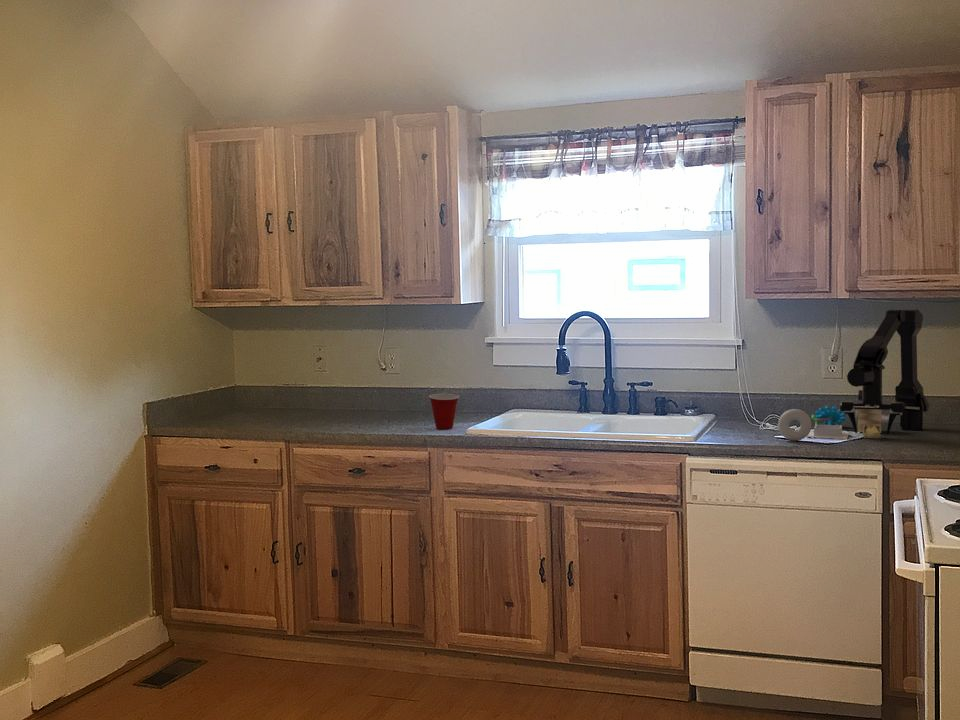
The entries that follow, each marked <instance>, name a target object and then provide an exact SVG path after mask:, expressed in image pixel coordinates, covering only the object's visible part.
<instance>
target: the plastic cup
mask: <svg viewBox="0 0 960 720" xmlns="http://www.w3.org/2000/svg"><path fill="white" fill-rule="evenodd" d="M428 398H429V400H430V403H431V408H432V414H433V419H434V425H435V428H436V430H441V431H442V430H452V429H453V428H454V423H455V422H454V421H455V418H456V417H455V416H456V410H457V404H458V401H459V398H460V395H458V394H455V393H432V394H429V395H428Z"/></svg>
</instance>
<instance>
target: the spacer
mask: <svg viewBox="0 0 960 720" xmlns="http://www.w3.org/2000/svg"><path fill="white" fill-rule="evenodd" d="M880 428H881V429H882V425H881V426H880V425H874V424H866V425H863V433H862V434H863V435H862V436H863V437H865V438H864V439H866V438H880V439H881V434H880ZM863 437H862V438H863Z"/></svg>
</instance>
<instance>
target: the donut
mask: <svg viewBox="0 0 960 720" xmlns="http://www.w3.org/2000/svg"><path fill="white" fill-rule="evenodd" d="M794 420H795V421H797V422H798V423H800V426H799V428H798V429H792V428H791V426H790V423H791V422H792V421H794ZM812 425H813V424H812V418H810V416H809V414H808V413H807V412H805V411H803V410H801V409H797V408H792V409H788V410H785V411H784V412H783V413H782V414H781V415H780V417H779V418H778V423H777V427H778V431H779V433H780V435H782V437H784V438H785V439H787V440H789V441H792V442H796V441H802V440H803V439H805V438H807V435H808V434H809V433H810V431H812V427H813V426H812Z"/></svg>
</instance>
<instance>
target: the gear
mask: <svg viewBox="0 0 960 720" xmlns="http://www.w3.org/2000/svg"><path fill="white" fill-rule="evenodd" d="M824 408H825V409H824ZM824 408H823V407H820V408H818V410H815V414H811V420H813V422H814V423H815V424H814V426H815V425H819V424H818V423H820V424H822V423H824V424H823V425H841V424H842V422H845V421H846V417H847V414H844V411H840V408H839V409H838V411H837V406H832V407H831V408H832V409H831V408H830V406H829V405H826V406H825V407H824Z"/></svg>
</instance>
